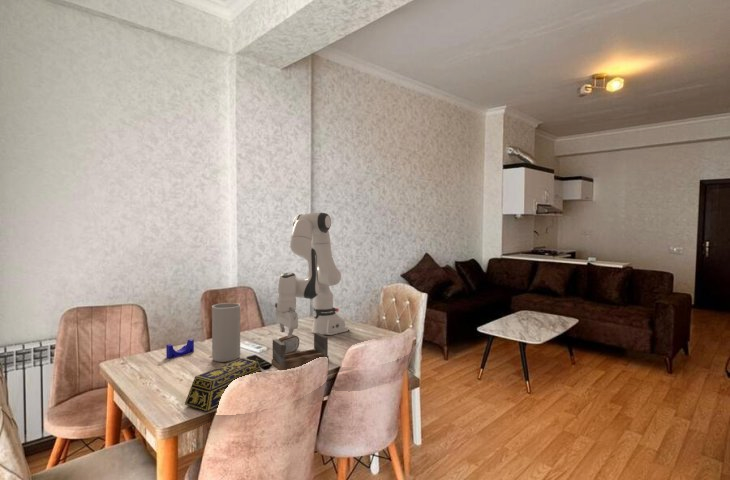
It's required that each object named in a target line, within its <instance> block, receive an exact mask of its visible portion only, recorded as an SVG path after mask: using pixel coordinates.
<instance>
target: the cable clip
mask: <svg viewBox="0 0 730 480" xmlns="http://www.w3.org/2000/svg"><path fill="white" fill-rule="evenodd" d="M165 346H166V349H165V351H166V358H167V359H173V358H176V357H181V356H185V355H189V354H190V353H194V352H195V341H194V339H192V338H189V339H187V342H186V344H185V345H183V346H182V347H181V348H180V349H178V350H175V349H174V345H173V344H171V343H167V344H166V345H165ZM188 353H189V354H188ZM184 354H185V355H184Z"/></svg>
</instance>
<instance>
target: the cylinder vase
mask: <svg viewBox="0 0 730 480" xmlns="http://www.w3.org/2000/svg"><path fill="white" fill-rule="evenodd" d="M211 324H212V325H211V333H212V334H211V336H212V337H211V355H212V356H211V358H212V360H213V361H214V362H218V363H229V362H233V361H235V360H238V359H240V357H241V304H240V303H237V302H236V303H235V302H221V303H217V304H213V305H211Z"/></svg>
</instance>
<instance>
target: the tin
mask: <svg viewBox="0 0 730 480" xmlns="http://www.w3.org/2000/svg"><path fill="white" fill-rule="evenodd" d="M277 339H278V340H279V341H281V342H282V343H284V344H285V354H290V353H295V352H297V350H298V348H299V347H300V337H298V336H297V335H295V334H292V337H289V336H288V335H286V336H283V337H280V338H277Z"/></svg>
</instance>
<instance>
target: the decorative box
mask: <svg viewBox="0 0 730 480" xmlns="http://www.w3.org/2000/svg"><path fill="white" fill-rule="evenodd" d="M260 365H261V364H260V362H259V361H258V360H254V359H249V358H245V357H241V358H240V357H239V358H238V359H236V360H233V361H229V362H227V363H225V364H223V365H220V366H218V367H216V368H213V369H210V370H208V371H206V372H203V373H201V374H198V375H196V376H194V379H193V382H192V384H191V387H190V389H189V392H188V395H187V397H186V400H185V402H184V406H187V407H192V408H195V409H197V410H202V411H204V412H209V411H210V410H212V409H214V408H216V407H218V406H219V405H218V404H219V401H220V399H221V396H222V394H223V393H224V391H225V389H226V388H227V387H228V385H229V384H230V383H231V382H232V381H233V380H235V379H237V378H239V377H242V376H245V375H249V374H253V373H256V372H262V373H263V371H262V368H261V366H260Z"/></svg>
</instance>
